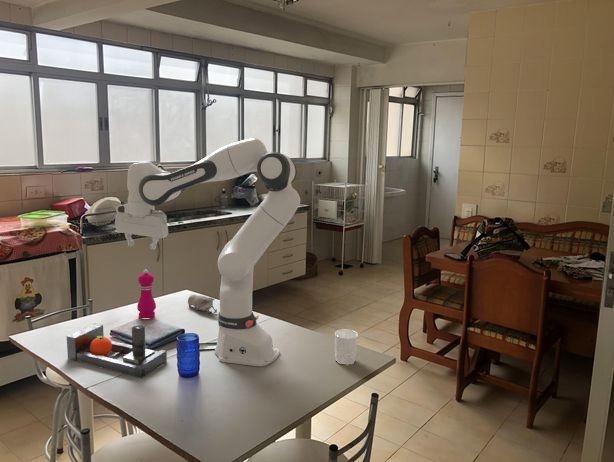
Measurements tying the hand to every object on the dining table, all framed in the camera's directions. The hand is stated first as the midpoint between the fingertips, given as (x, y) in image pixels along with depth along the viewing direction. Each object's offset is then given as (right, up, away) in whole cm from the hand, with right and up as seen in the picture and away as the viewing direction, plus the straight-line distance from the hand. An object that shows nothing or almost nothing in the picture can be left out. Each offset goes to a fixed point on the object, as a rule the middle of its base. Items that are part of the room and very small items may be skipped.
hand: (142, 247), depth 177 cm
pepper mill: (-7, -29, +28) cm, 41 cm away
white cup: (+71, -39, -5) cm, 81 cm away
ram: (+4, -38, -14) cm, 41 cm away
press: (-4, -37, -11) cm, 39 cm away
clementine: (-11, -36, -8) cm, 39 cm away
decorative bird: (+13, -28, +37) cm, 49 cm away
